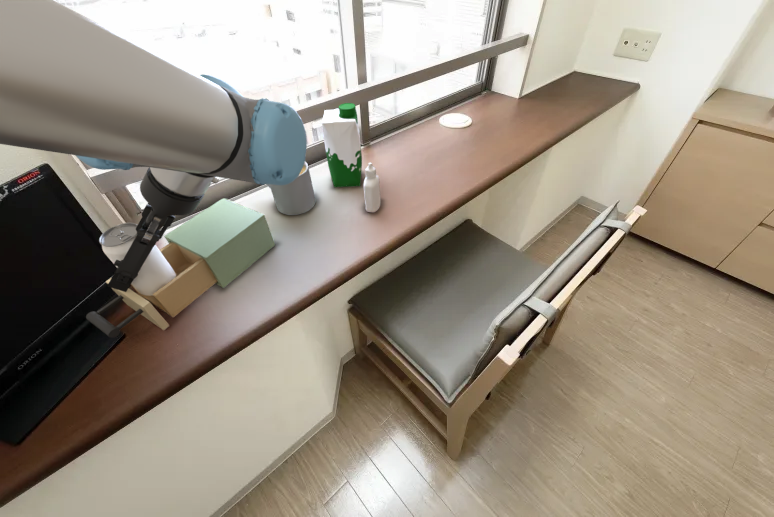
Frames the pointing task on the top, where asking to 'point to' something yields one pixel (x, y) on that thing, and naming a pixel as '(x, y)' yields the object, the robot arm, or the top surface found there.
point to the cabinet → (225, 238)
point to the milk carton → (343, 145)
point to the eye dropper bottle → (372, 189)
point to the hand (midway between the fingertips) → (125, 271)
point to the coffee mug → (295, 194)
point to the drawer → (162, 292)
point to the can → (154, 267)
